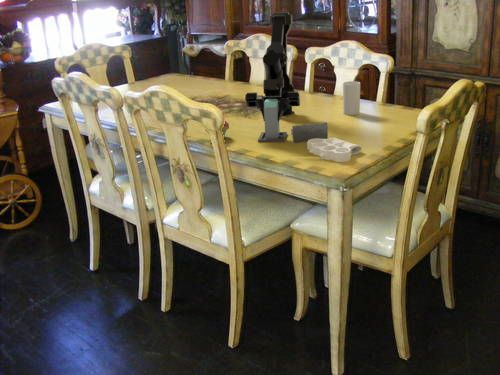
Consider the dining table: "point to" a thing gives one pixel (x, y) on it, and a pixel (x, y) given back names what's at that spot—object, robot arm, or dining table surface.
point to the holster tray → (280, 139)
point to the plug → (271, 119)
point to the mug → (351, 98)
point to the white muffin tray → (333, 149)
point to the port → (309, 132)
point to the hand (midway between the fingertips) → (271, 120)
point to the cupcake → (224, 127)
